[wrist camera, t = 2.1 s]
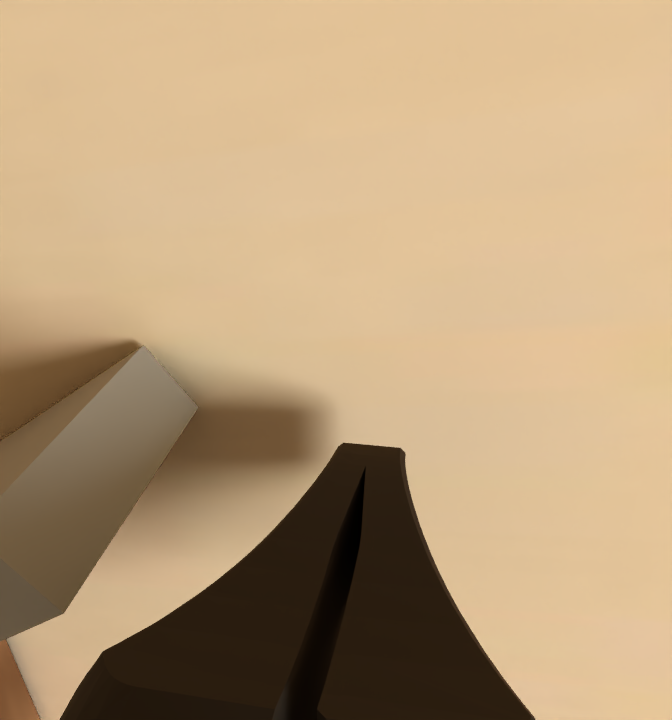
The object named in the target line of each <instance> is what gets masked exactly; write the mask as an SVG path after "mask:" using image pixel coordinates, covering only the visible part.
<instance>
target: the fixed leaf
mask: <svg viewBox="0 0 672 720" xmlns="http://www.w3.org/2000/svg"><path fill="white" fill-rule="evenodd" d="M0 720H40V718H39V716H38V714H37V711H36V709H35V707H34V704H33V702H32V700H31V697H30V695H29V693H28V690H27V688H26V686H25V683H24V681H23V679H22V676H21V674H20V672H19V669H18V667H17V665H16V662H15V660H14V658H13V656H12V653H11V651H10V649H9V646H8V644H7V642H6V639H5V640H2V641H0Z"/></svg>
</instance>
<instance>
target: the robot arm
mask: <svg viewBox="0 0 672 720" xmlns="http://www.w3.org/2000/svg"><path fill="white" fill-rule="evenodd" d="M60 720H535V718H534V716H533V715H532V714H531V713H530V711H529V710H528V709H527V708H526V707H525V705H524V704H523V703H522V702H521V700H520V699H519V698H518V697H517V695H516V694H515V693H514V691H513V690H512V689H511V687H510V686H509V685H508V683H507V682H506V681H505V680H504V678H503V677H502V676H501V674H500V673H499V671H498V670H497V668H496V667H495V666H494V664H493V663H492V661H491V660H490V658H489V657H488V656H487V654H486V653H485V651H484V650H483V648H482V647H481V645H480V643H479V642H478V640H477V639H476V637H475V635H474V634H473V632H472V631H471V629H470V627H469V626H468V624H467V623H466V621H465V619H464V618H463V616H462V615H461V613H460V611H459V609H458V608H457V606H456V604H455V602H454V600H453V598H452V597H451V595H450V593H449V591H448V589H447V587H446V585H445V583H444V581H443V579H442V577H441V575H440V573H439V571H438V569H437V566H436V564H435V562H434V560H433V557H432V555H431V553H430V550H429V548H428V545H427V543H426V540H425V538H424V535H423V532H422V530H421V527H420V524H419V521H418V518H417V515H416V511H415V508H414V505H413V502H412V498H411V494H410V490H409V485H408V481H407V475H406V468H405V452H404V451H403V450H402V449H401V448H395V447H384V446H373V445H362V444H352V443H343V444H341V445H340V446H338V448H337V450H336V451H335V453H334V455H333V456H332V458H331V459H330V461H329V462H328V464H327V465H326V467H325V468H324V470H323V471H322V472H321V474H320V475H319V476H318V478H317V479H316V480H315V482H314V483H313V484H312V486H311V487H310V488H309V489H308V491H307V492H306V493H305V494H304V496H303V497H302V498H301V499H300V501H299V502H298V503H297V504H296V505H295V507H294V508H293V509H292V510H291V511H290V512H289V513H288V514H287V515H286V516H285V518H284V519H283V520H282V521H281V522H280V523H279V524H278V525H277V526H276V527H275V528H274V530H273V531H272V532H271V533H270V534H269V535H268V536H267V537H266V538H265V539H264V540H263V541H262V542H261V543H260V544H258V545H257V546H256V547H255V548H254V549H253V550H252V551H251V552H250V553H249V554H248V555H247V556H245V557H244V558H243V559H242V560H241V561H240V562H239V563H237V564H236V565H235V566H234V567H233V568H231V569H230V570H229V571H228V572H226V573H225V574H224V575H223V576H222V577H220V578H219V579H218V580H217V581H215V582H214V583H213V584H211V585H210V586H209V587H207V588H206V589H205V590H203V591H202V592H201V593H199V594H198V595H196V596H195V597H193V598H192V599H190V600H189V601H187V602H186V603H185V604H183V605H182V606H180V607H179V608H177V609H176V610H174V611H173V612H171V613H170V614H168V615H167V616H165V617H164V618H162V619H160V620H159V621H157V622H156V623H154V624H152V625H151V626H149V627H147V628H145V629H143V630H142V631H140V632H138V633H136V634H134V635H133V636H131V637H129V638H127V639H125V640H123V641H122V642H120V643H118V644H116V645H114V646H112V647H110V648H108V649H106V650H105V651H103V652H102V653H101V655H100V656H99V658H98V659H97V661H96V662H95V664H94V665H93V666H92V668H91V669H90V670H89V672H88V673H87V674H86V676H85V677H84V679H83V680H82V682H81V683H80V685H79V686H78V688H77V690H76V691H75V693H74V695H73V697H72V699H71V700H70V702H69V704H68V706H67V707H66V709H65V711H64V713H63V715H62V716H61V718H60Z"/></svg>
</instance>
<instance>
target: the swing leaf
mask: <svg viewBox="0 0 672 720" xmlns="http://www.w3.org/2000/svg"><path fill="white" fill-rule="evenodd" d="M197 409H198V406H197V405H196V404H195V403H194V401H193V400H192V399H191V398H190V397H189V396H188V395H187V394H186V392H185V391H184V390H183V389H182V388H181V387H180V386H179V385H178V383H177V382H176V381H175V380H174V379H173V378H172V377H171V376H170V374H169V373H168V372H167V371H166V370H165V369H164V368H163V366H162V365H161V364H160V363H159V362H158V361H157V360H156V359H155V357H154V356H153V355H152V354H151V353H150V352H149V351H148V350H147V348H146V347H145V346H144V345H143V346H141V347H140V348H138V349H137V350H135V351H134V352H132V353H131V354H129V355H128V356H126V357H125V358H123V359H122V360H120V361H119V362H118V363H116V364H115V365H113V366H112V367H110V368H109V369H107V370H106V371H104V372H103V373H101V374H100V375H98V376H97V377H95V378H94V379H92V380H91V381H89V382H88V383H86V384H85V385H83V386H82V387H80V388H79V389H77V390H76V391H74V392H73V393H71V394H70V395H68V396H67V397H65V398H64V399H62V400H61V401H59V402H58V403H57V404H55V405H54V406H52V407H51V408H49V409H48V410H46V411H45V412H43V413H42V414H40V415H39V416H37V417H36V418H34V419H33V420H31V421H30V422H28V423H27V424H25V425H24V426H22V427H21V428H19V429H18V430H16V431H15V432H13V433H12V434H10V435H9V436H7V437H6V438H4V439H3V440H1V441H0V641H2V640H5V639H7V638H9V637H11V636H14V635H16V634H18V633H20V632H23V631H25V630H27V629H30V628H32V627H34V626H36V625H39V624H41V623H43V622H45V621H48V620H50V619H52V618H54V617H57V616H59V615H61V614H63V613H64V612H65V611H66V609H67V608H68V606H69V605H70V603H71V601H72V600H73V598H74V597H75V595H76V594H77V592H78V591H79V589H80V588H81V586H82V585H83V583H84V582H85V580H86V579H87V577H88V576H89V574H90V572H91V571H92V569H93V568H94V566H95V565H96V563H97V562H98V560H99V559H100V557H101V556H102V554H103V553H104V551H105V550H106V548H107V546H108V545H109V543H110V542H111V540H112V539H113V537H114V536H115V534H116V533H117V531H118V530H119V528H120V527H121V525H122V524H123V522H124V521H125V519H126V517H127V516H128V514H129V513H130V511H131V510H132V508H133V507H134V505H135V504H136V502H137V501H138V499H139V498H140V496H141V495H142V493H143V491H144V490H145V488H146V487H147V485H148V484H149V482H150V481H151V479H152V478H153V476H154V475H155V473H156V472H157V470H158V469H159V467H160V466H161V464H162V462H163V461H164V459H165V458H166V456H167V455H168V453H169V452H170V450H171V449H172V447H173V446H174V444H175V443H176V441H177V440H178V438H179V436H180V435H181V433H182V432H183V430H184V429H185V427H186V426H187V424H188V423H189V421H190V420H191V418H192V417H193V415H194V414H195V412H196V411H197Z"/></svg>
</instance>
